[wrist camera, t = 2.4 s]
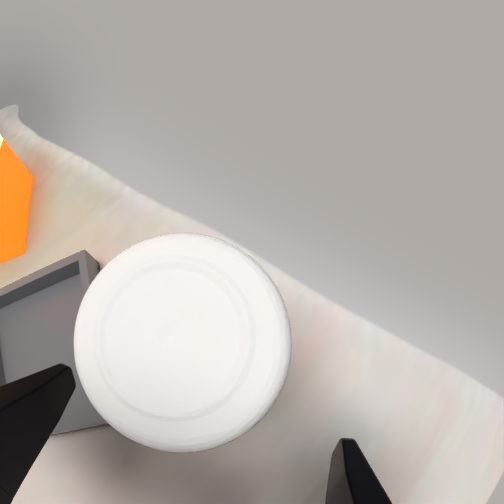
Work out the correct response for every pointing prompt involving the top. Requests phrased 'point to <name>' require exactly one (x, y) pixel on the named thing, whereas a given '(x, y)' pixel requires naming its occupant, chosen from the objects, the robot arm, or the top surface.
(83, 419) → the tray
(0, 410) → the robot arm
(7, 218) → the orange juice
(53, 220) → the top surface
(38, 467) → the top surface
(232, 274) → the spice shaker
